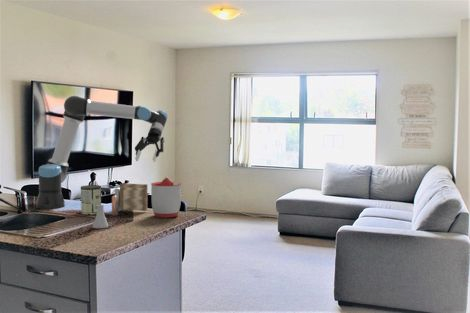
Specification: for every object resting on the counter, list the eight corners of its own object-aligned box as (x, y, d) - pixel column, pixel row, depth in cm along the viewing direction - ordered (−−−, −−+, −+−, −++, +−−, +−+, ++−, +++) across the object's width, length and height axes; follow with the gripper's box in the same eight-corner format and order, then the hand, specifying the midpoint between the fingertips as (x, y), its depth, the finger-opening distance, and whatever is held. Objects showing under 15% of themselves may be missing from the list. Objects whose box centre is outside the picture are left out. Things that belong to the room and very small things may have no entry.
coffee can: (85, 210, 249) (85, 184, 248) (104, 211, 248) (104, 185, 247) (77, 214, 238) (77, 187, 237) (96, 214, 237) (96, 187, 236)
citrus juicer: (190, 215, 239) (190, 177, 238) (163, 220, 226) (164, 180, 225) (170, 211, 250) (170, 175, 248) (144, 215, 237) (144, 177, 235)
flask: (91, 226, 212) (91, 204, 211) (107, 225, 215) (107, 203, 214) (93, 229, 205) (93, 207, 204) (109, 228, 208) (109, 206, 207)
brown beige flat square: (119, 209, 248) (119, 183, 247) (121, 208, 250) (121, 183, 249) (145, 210, 245) (145, 184, 244) (147, 210, 247) (147, 184, 246)
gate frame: (115, 210, 251) (115, 188, 250) (120, 210, 251) (120, 188, 250) (110, 215, 236) (110, 192, 235) (116, 215, 236) (116, 192, 235)
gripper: (174, 136, 274) (165, 164, 260) (139, 135, 279) (128, 163, 264) (171, 127, 268) (162, 156, 254) (136, 127, 273) (124, 155, 259)
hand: (145, 160), depth 259 cm, fingers open, 10 cm apart
